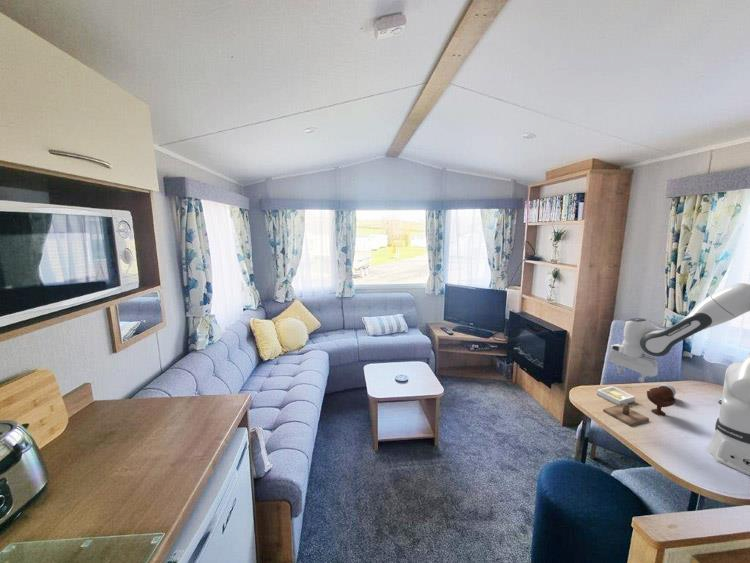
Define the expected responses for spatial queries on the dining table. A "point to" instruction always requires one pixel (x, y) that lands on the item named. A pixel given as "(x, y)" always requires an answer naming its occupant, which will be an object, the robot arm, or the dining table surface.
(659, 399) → the ice cream bowl
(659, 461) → the dining table surface
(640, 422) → the mat
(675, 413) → the dining table surface
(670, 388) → the ceramic mug
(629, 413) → the lid
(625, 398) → the dish
